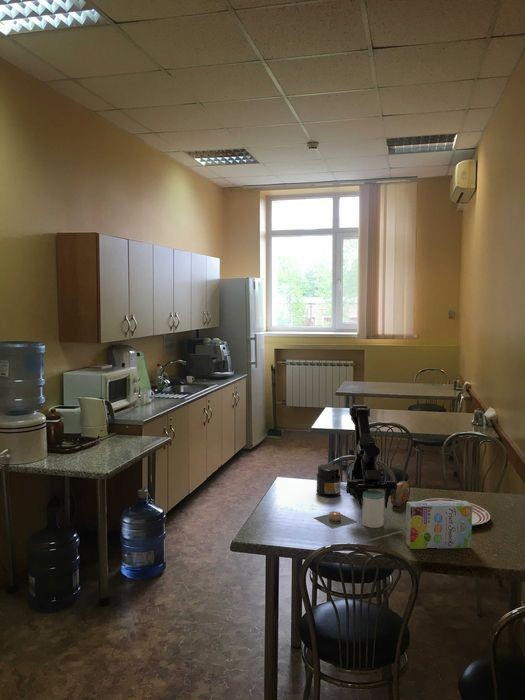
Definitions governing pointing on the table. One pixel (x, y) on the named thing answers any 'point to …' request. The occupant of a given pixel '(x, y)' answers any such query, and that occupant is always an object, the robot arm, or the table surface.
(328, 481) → the supplement container
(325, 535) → the table surface
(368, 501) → the white canister
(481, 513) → the dinner plate
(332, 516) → the brown pebble
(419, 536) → the snack box
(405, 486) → the tin
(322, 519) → the mat
